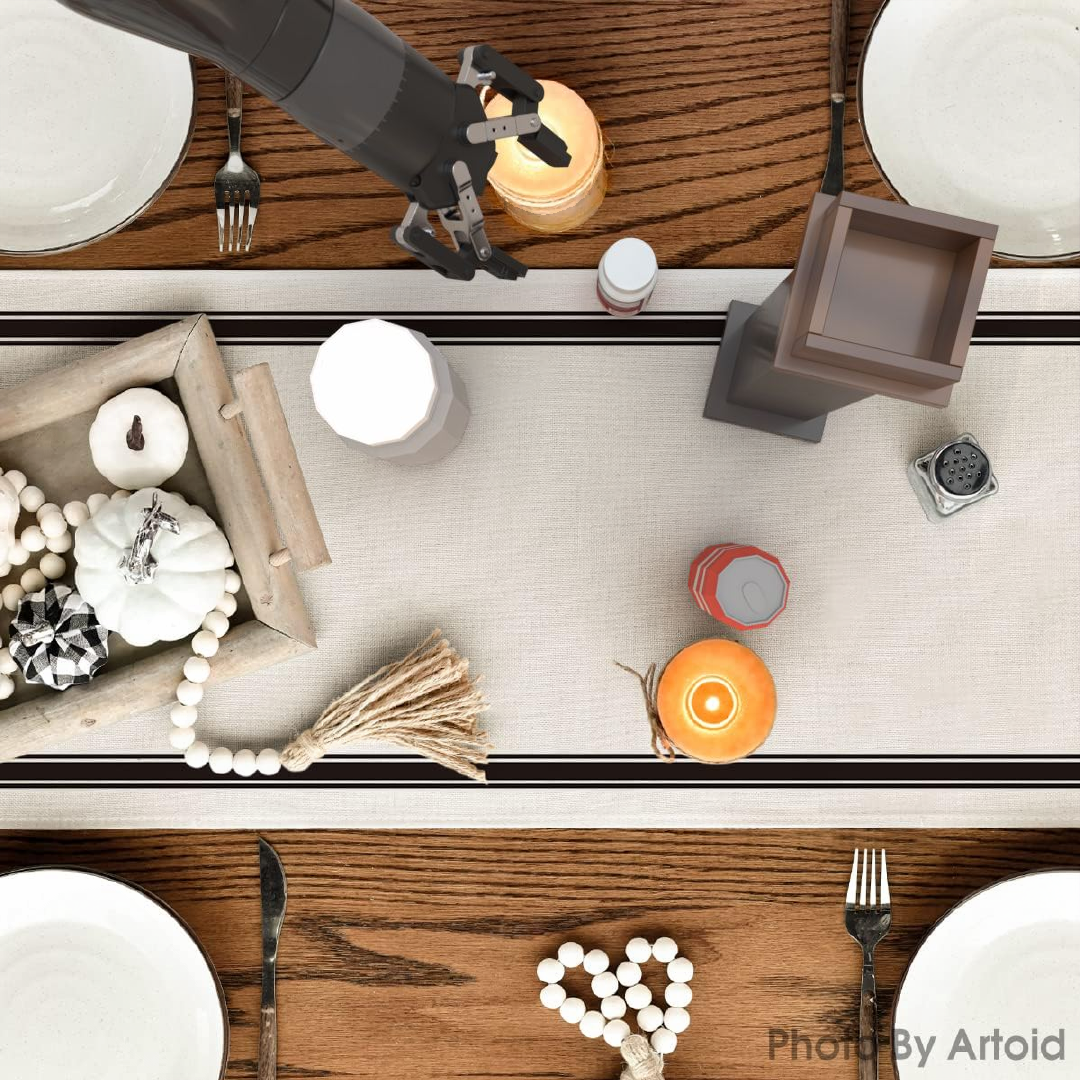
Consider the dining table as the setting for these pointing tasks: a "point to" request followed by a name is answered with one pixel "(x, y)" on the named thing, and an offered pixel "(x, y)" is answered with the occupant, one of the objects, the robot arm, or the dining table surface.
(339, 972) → the dining table surface
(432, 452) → the jar
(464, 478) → the dining table surface
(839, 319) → the socket cup
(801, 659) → the dining table surface
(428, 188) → the robot arm
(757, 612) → the beverage can
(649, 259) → the pill bottle
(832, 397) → the pedestal
